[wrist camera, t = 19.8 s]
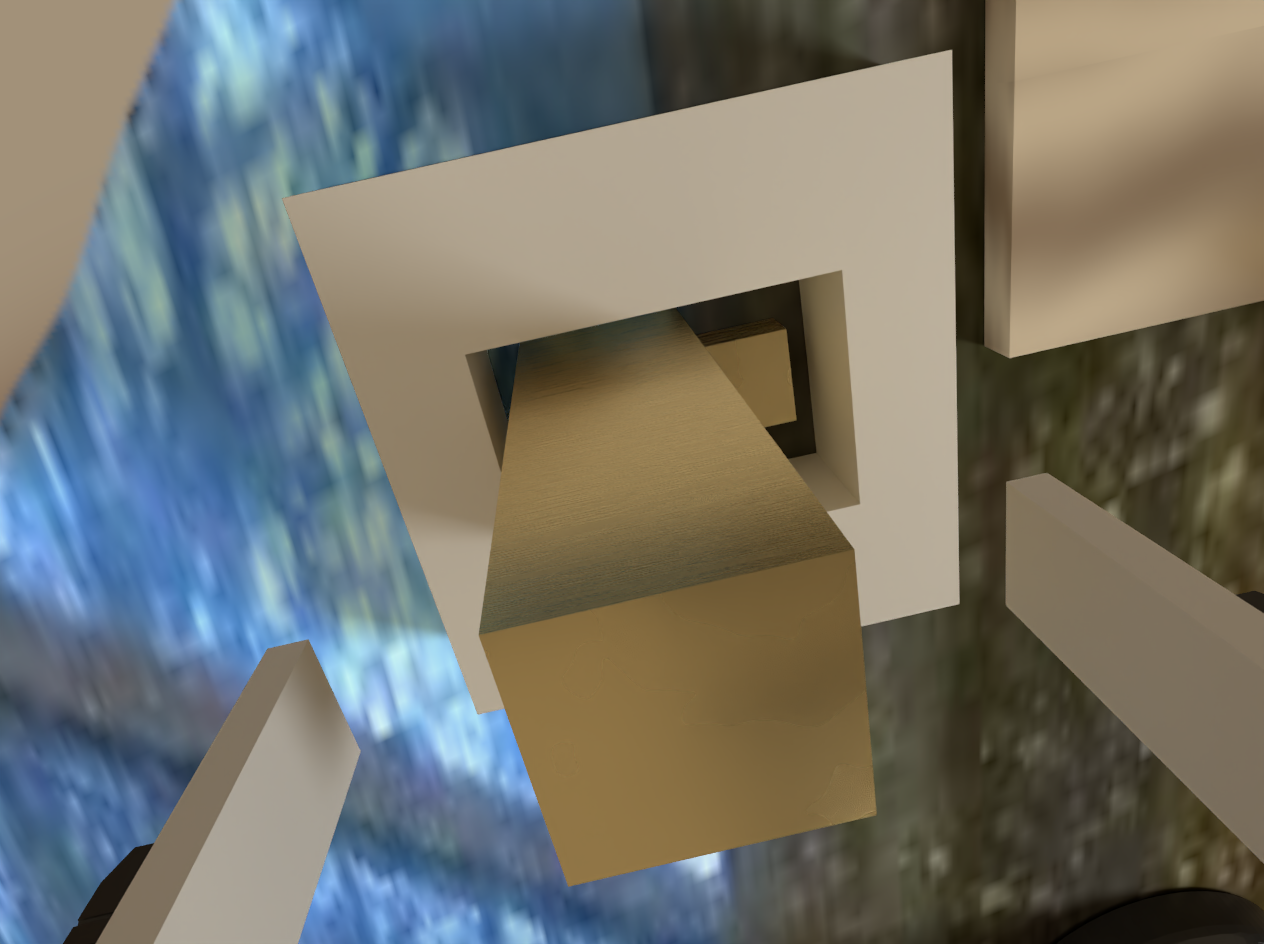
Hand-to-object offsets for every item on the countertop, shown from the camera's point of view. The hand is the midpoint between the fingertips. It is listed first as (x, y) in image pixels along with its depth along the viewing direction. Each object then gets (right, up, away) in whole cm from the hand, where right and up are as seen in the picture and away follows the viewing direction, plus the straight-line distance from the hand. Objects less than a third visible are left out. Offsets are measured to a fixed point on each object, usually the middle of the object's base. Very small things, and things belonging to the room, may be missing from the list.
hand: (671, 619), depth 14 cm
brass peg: (0, +5, +10) cm, 12 cm away
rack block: (0, +5, +10) cm, 12 cm away
